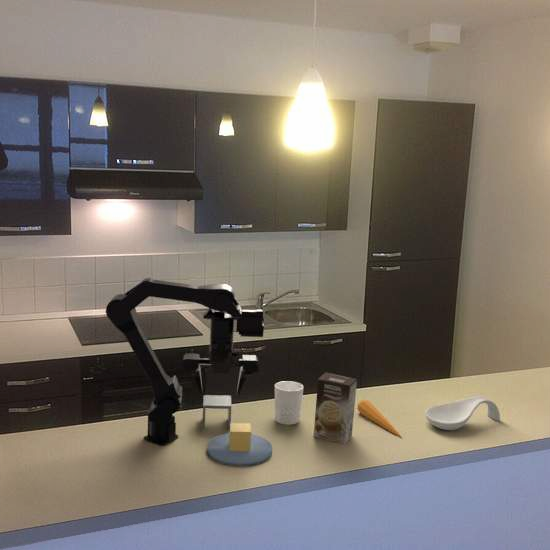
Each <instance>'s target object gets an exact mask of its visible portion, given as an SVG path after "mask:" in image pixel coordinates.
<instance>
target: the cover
mask: <svg viewBox="0 0 550 550" xmlns="http://www.w3.org/2000/svg"><path fill="white" fill-rule="evenodd" d="M202 402H203V403H202V424H201V425H202V429H205V428H206V427H205V426H206V409H211V410H212V409H219V410H220V409H221V410H222V409H224V410H227V430H228V429H230V423H232V395H213V394H212V395H211V394H206V395H203V401H202ZM202 429H201V430H202Z"/></svg>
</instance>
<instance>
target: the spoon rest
mask: <svg viewBox="0 0 550 550" xmlns="http://www.w3.org/2000/svg"><path fill="white" fill-rule="evenodd" d="M481 404H486V405H487V413H486V414H487V417H488V418H490V419H493V421H498V422H499V421H500V420H501V414H500V411H499V408H498V406H497V405H496V403H495V402H493V401H492V400H489V399H487V398H486V397H484V396H479V395H477V396H471V397H467V398H463V399H459V400H457V401H452V402H447V403H442V404H438V405H434V406H431V407H429V408H427V409H426V410H425V412H424V416H425V418H426V419H427V420H428V422H429V423H430V424H431V425H433V426H434V427H435V428H438V429H441V430H444V431H456V430H458V429H460V428H462V427H463V426H465V424H466V423H468V421H469V420H470V418H471V417H472V415H473V413H474V412H475V411H476V409H477V408H478V407H479V406H480V405H481Z"/></svg>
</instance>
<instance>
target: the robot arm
mask: <svg viewBox="0 0 550 550" xmlns="http://www.w3.org/2000/svg"><path fill="white" fill-rule="evenodd" d="M235 294H236V293H235V290H234V289H233V287H231V285H229V284H225V283H214V284H212V283H211V284H205V285H204V284H203V285H195V284H188V283H182V282H181V283H180V282H173V281H166V280H159V279H153V278H150V277H145V278H143V279H142V280H141V281H140V283H137V285H135V286H134V287H132V288H130V289H129V290H128V291H126V292H125V293H119V294H116V295H114V296H113V298H111V299H110V301H109V302H108V303H107V305H106V308H105V315H106V317H107V318H108V320H109V321H110V322H111V324H112V325H113V326H114V327H115V328H116V329H117V330H118V331H119V332H121V333H122V334H123V335H124V337H125V338H126V339H125V340H126V341H127V342H128V344H129V345H130V348H131V350H132V352H133V354H134V356H135V357H136V358H137V360H138V363H139V364H140V366H141V368H142V369H143V371H144V373H145V376H147V379H148V381H149V383H150V386H151V390H152V394H153V400H152V402H151V404H150V407H149V410H148V413H147V434H146V435H145V436H143V440H145V441H148V442H151V443H154V444H157V445H160V446H165V445H166V444H169V443H170V442H172V441H174V440H176V439H178V438H179V435H178V433H176V432H177V431H176V430H177V423H176V421H175V420H176V416H175V415H174V414H176V413H177V412H178V410H179V409H180V407H181V403H182V398H183V386H182V385H180V383H179V381H178V378H177V376H176V375H174V376H172V377H170V376H169V375H168V374H167V373H166V372H165V369H164V368H163V366H162V364H161V362H160V361H159V359H158V356H157V355H156V353H155V352H154V349H153V348H152V345H150V342H149V340H148V338H147V337H146V334H145V333H144V330H143V329H142V327H141V325H140V321H139V317H138V312H137V309H136V307H138V306H139V305H140V304H141V303H143V302H144V301H146V299H148V298H157V299H158V298H159V299H167V300H173V301H181V302H186V303H187V302H188V303H195V304H199V305H201V306H203V307H205V308H208V309H207V310H206V311H205V312H203V317H202V318H203V319H204V320H210V331H209V332H210V333H209V355H208V358H207V357H202V358H201V357H200V353H185V354H184V355H183V359H182V371H184V372H187V374H189V375H192V376H193V378H194V381H195V383H196V385H197V389H198V391H199V395H200V397H201V396H203V382H202V379H203V378H202V372H201V370H202V369H201V367H210V373H211V374H215V375H216V374H217V375H218V374H224V375H228V374H231V372H232V369H236V368H240V369H239V374H238V375H239V376H238V381H237V387H236V396H237V397H240V394H241V391H242V389H243V386H244V383H245V382H246V380H247V379H248V377H249V376H252V375H253V374H254V373H258V372H259V368H260V367H259V366H260V365H259V364H260V362H259V357H257V355H255V354H251V355H250V354H242V357H241V358H240V352H234V330H235V329H234V326H235V325H234V324H235V321H236V326H235V327H236V330H235V331H236V333H238V335H240V338H243V337H244V338H245V337H246V338H263V337H264V330H265V329H264V310H263V309H242V307H241V305H240V304H239V302H238V300H237V299H236V298H235Z"/></svg>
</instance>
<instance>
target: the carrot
mask: <svg viewBox="0 0 550 550" xmlns="http://www.w3.org/2000/svg"><path fill="white" fill-rule="evenodd" d="M357 411H358V413H360V414H361V415H362V416H363V417H365V418H367V419H369V420H370V421H372V422H373V423H375V424H377V425H378V426H380V427H382V428H383V429H385V430H386V429H387V430H386V431H388V432H390V433H391V434H393V433H394V435H396V436H398V437H399V438H400V439H403V436H402V435H401V434H400V433H399V431H398V430H397V429H396V428H395V427H394V426H393V425H392V424H391V422H390V421H389V420H388V419H387V418H386V417H385V416H384V415H383V414H382V413H381V411H379V410H378V409H377V407H375V405H374V404H372V403H371V402H370V401H369V400H368V399H362V400H360V402H359V403H357Z"/></svg>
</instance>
